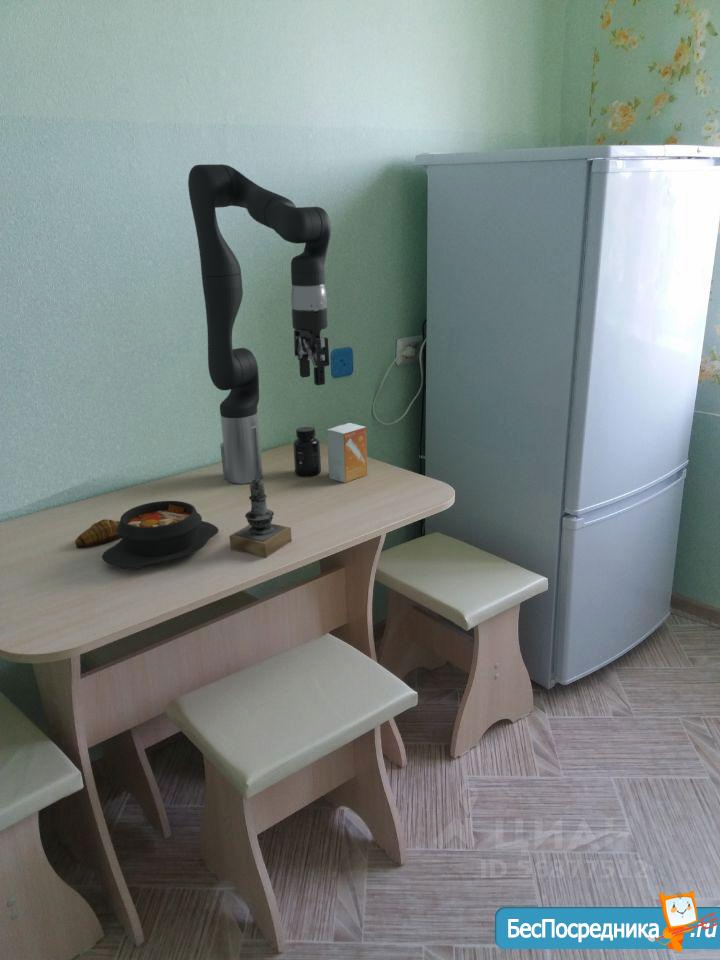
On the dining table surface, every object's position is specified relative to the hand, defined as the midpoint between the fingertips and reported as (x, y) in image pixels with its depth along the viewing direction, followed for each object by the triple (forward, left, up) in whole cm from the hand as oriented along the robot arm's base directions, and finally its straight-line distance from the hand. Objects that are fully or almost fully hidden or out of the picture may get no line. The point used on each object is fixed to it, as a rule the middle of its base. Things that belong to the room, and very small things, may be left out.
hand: (312, 380), depth 173 cm
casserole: (-16, -35, -30) cm, 49 cm away
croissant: (-31, -36, -30) cm, 56 cm away
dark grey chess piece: (+1, -24, -27) cm, 36 cm away
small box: (-4, +20, -30) cm, 36 cm away
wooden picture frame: (+1, -24, -30) cm, 38 cm away
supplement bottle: (-15, +18, -30) cm, 38 cm away
